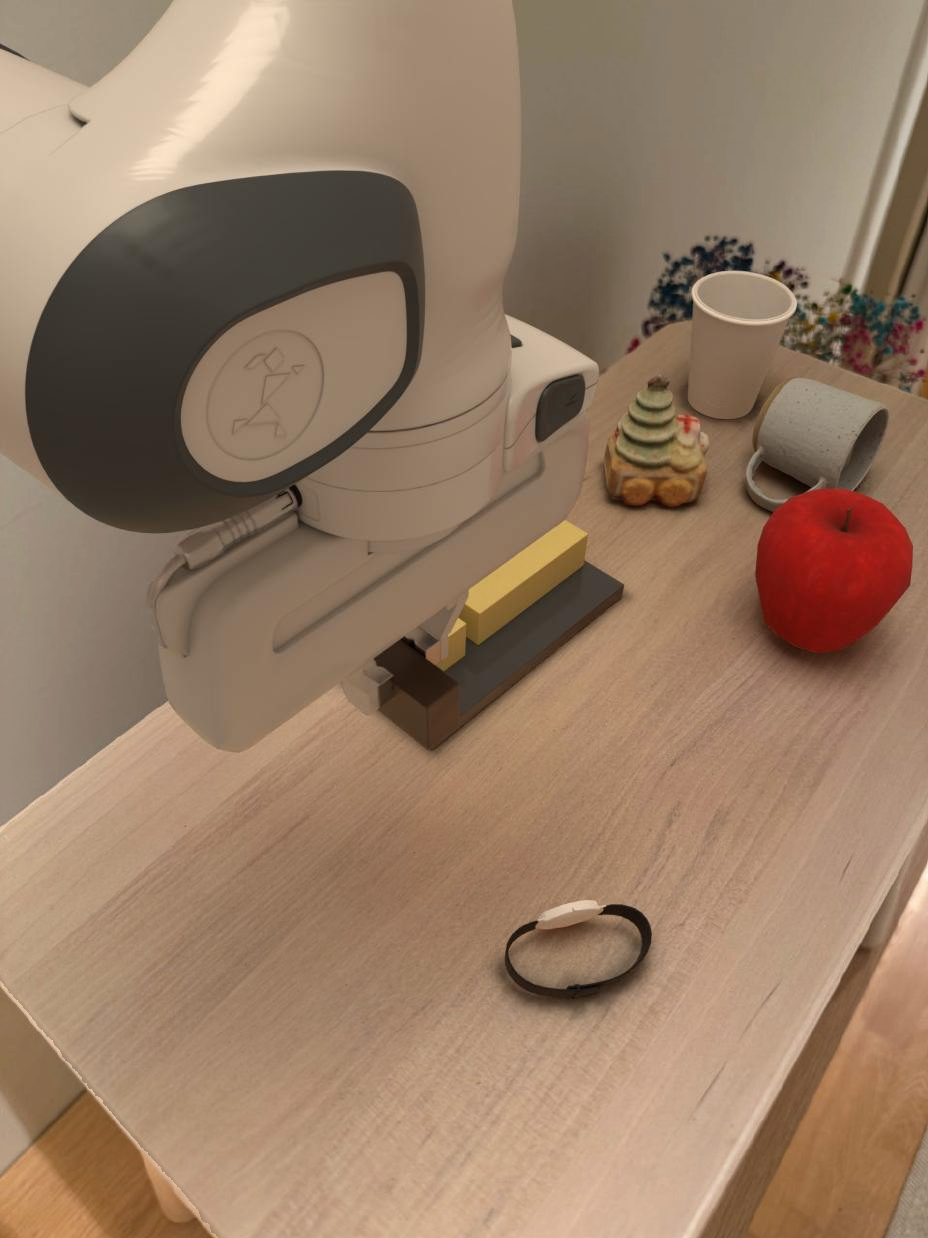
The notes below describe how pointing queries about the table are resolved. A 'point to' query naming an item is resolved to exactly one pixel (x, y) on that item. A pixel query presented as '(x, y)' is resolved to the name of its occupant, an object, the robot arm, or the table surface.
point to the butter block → (523, 580)
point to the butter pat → (455, 645)
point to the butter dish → (530, 638)
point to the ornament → (656, 451)
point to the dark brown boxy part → (419, 695)
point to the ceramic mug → (816, 437)
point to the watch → (574, 915)
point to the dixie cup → (734, 339)
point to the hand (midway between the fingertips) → (397, 678)
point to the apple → (831, 568)
